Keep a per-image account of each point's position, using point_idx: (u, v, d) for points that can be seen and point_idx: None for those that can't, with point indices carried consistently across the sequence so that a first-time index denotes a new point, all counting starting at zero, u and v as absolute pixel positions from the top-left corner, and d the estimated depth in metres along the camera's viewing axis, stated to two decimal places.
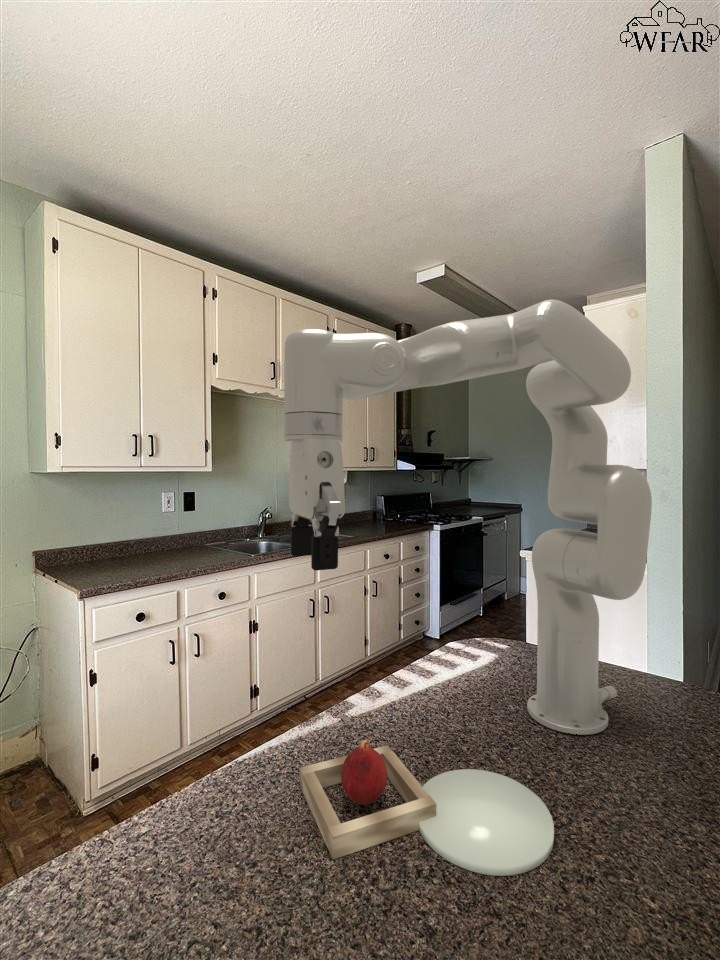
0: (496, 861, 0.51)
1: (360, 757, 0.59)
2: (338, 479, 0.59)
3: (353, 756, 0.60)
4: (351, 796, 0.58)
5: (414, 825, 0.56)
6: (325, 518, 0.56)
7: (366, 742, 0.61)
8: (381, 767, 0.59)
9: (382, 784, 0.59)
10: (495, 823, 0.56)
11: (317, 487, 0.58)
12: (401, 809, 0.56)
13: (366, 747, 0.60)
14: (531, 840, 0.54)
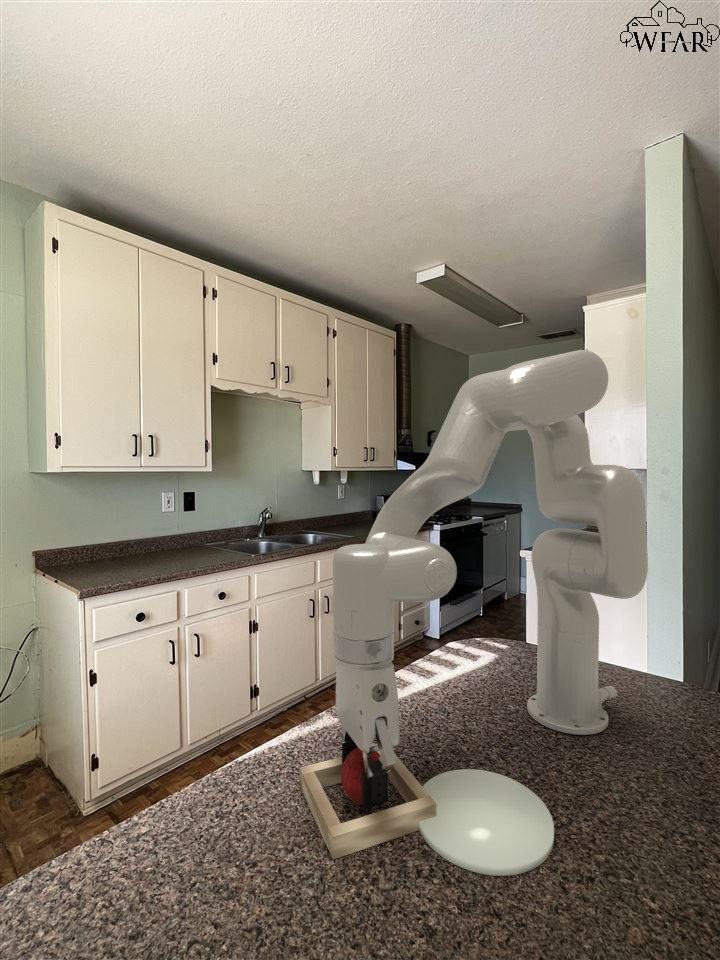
0: (496, 861, 0.51)
1: (360, 757, 0.59)
2: (393, 710, 0.56)
3: (353, 756, 0.60)
4: (351, 796, 0.58)
5: (414, 825, 0.56)
6: (378, 765, 0.55)
7: None
8: None
9: None
10: (495, 823, 0.56)
11: (373, 723, 0.55)
12: (401, 809, 0.56)
13: None
14: (531, 840, 0.54)
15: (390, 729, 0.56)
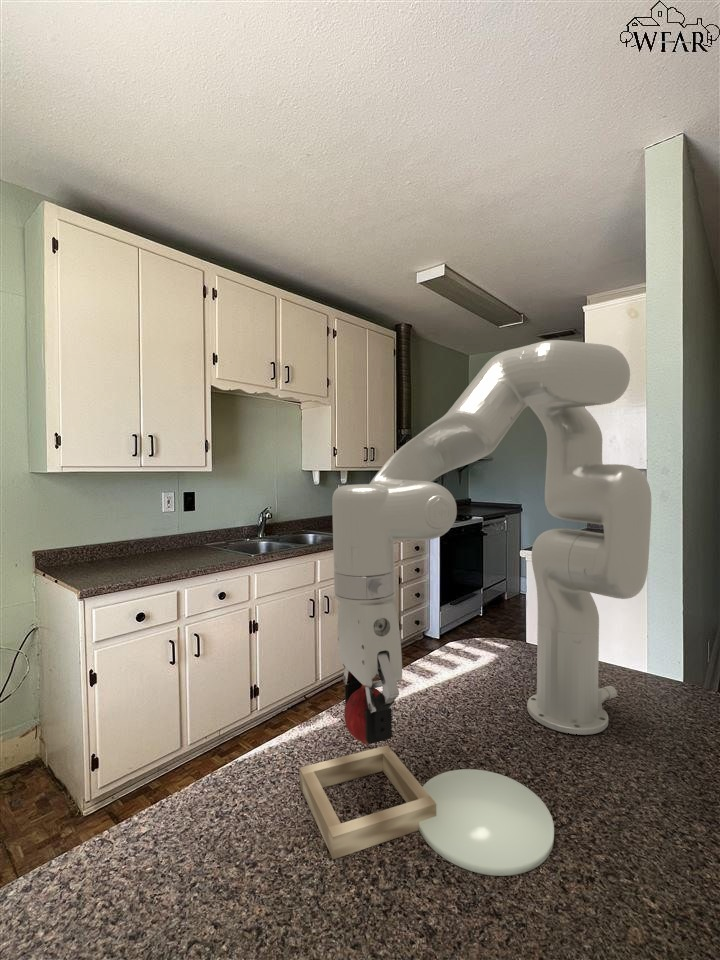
0: (496, 861, 0.51)
1: (363, 695, 0.59)
2: (395, 645, 0.56)
3: (356, 695, 0.60)
4: (355, 733, 0.58)
5: (414, 825, 0.56)
6: (381, 698, 0.55)
7: None
8: None
9: None
10: (495, 823, 0.56)
11: (375, 657, 0.55)
12: (401, 809, 0.56)
13: None
14: (531, 840, 0.54)
15: (392, 664, 0.56)
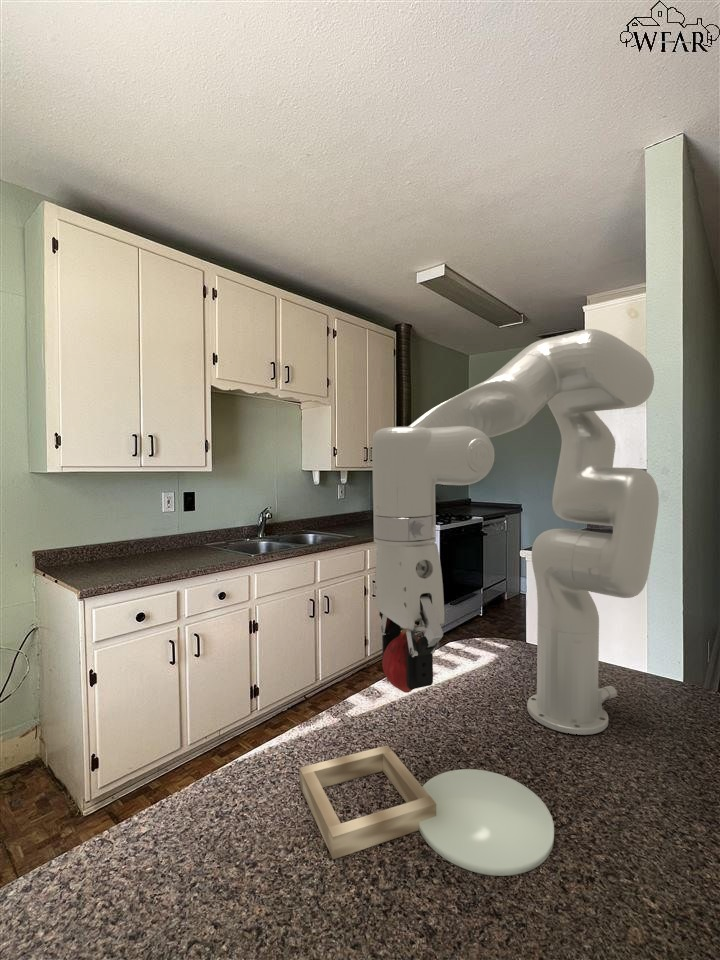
0: (496, 861, 0.51)
1: (402, 642, 0.58)
2: (438, 588, 0.55)
3: (395, 642, 0.59)
4: (395, 680, 0.57)
5: (414, 825, 0.56)
6: (423, 640, 0.54)
7: None
8: None
9: None
10: (495, 823, 0.56)
11: (417, 599, 0.54)
12: (401, 809, 0.56)
13: None
14: (531, 840, 0.54)
15: (435, 607, 0.55)
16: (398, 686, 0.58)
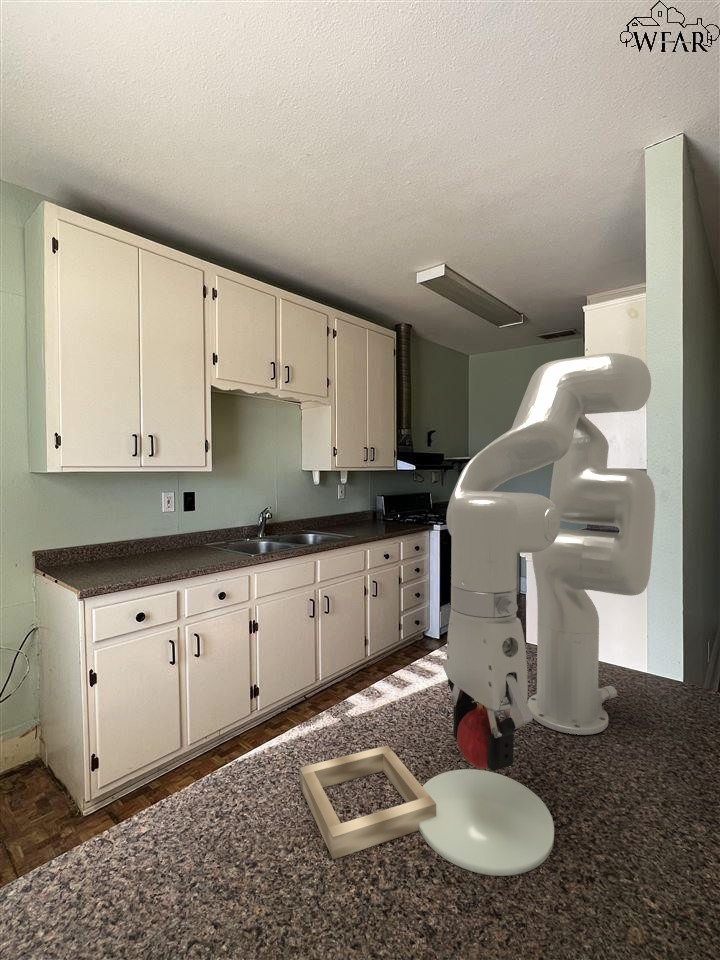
0: (496, 861, 0.51)
1: (480, 718, 0.56)
2: (523, 666, 0.54)
3: (472, 717, 0.57)
4: (473, 759, 0.55)
5: (414, 825, 0.56)
6: (510, 722, 0.52)
7: None
8: None
9: None
10: (495, 823, 0.56)
11: (503, 679, 0.52)
12: (401, 809, 0.56)
13: (485, 708, 0.57)
14: (531, 840, 0.54)
15: (520, 686, 0.53)
16: (476, 765, 0.56)
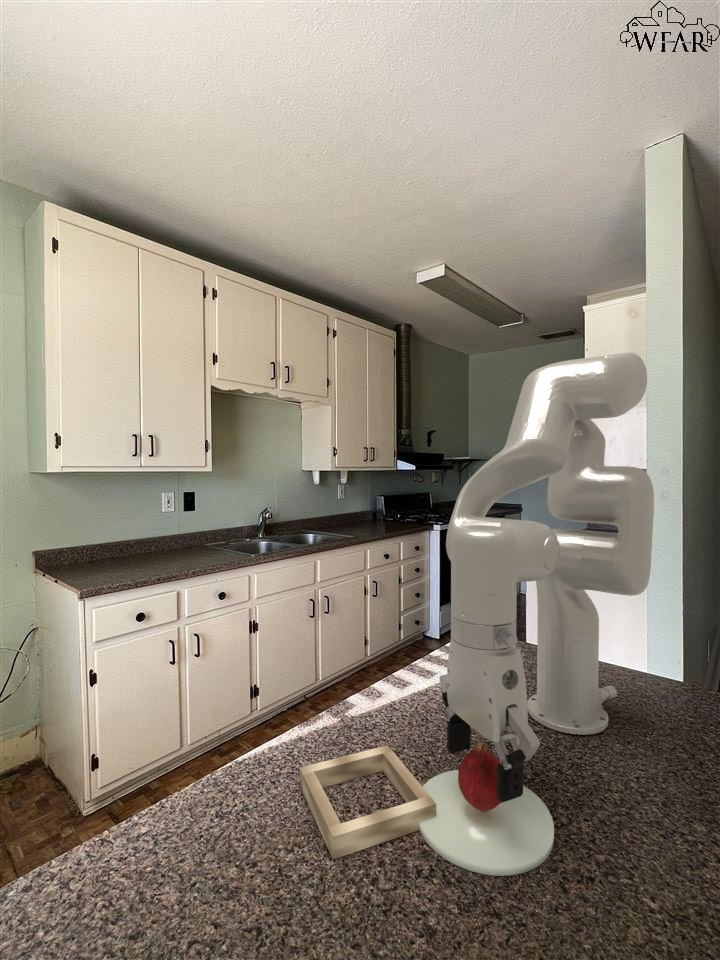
0: (496, 861, 0.51)
1: (480, 760, 0.57)
2: (523, 698, 0.54)
3: (471, 759, 0.57)
4: (474, 802, 0.56)
5: (414, 825, 0.56)
6: (520, 755, 0.51)
7: (483, 745, 0.58)
8: None
9: None
10: (495, 823, 0.56)
11: (504, 712, 0.53)
12: (401, 809, 0.56)
13: (484, 750, 0.58)
14: (531, 840, 0.54)
15: None
16: (477, 807, 0.56)
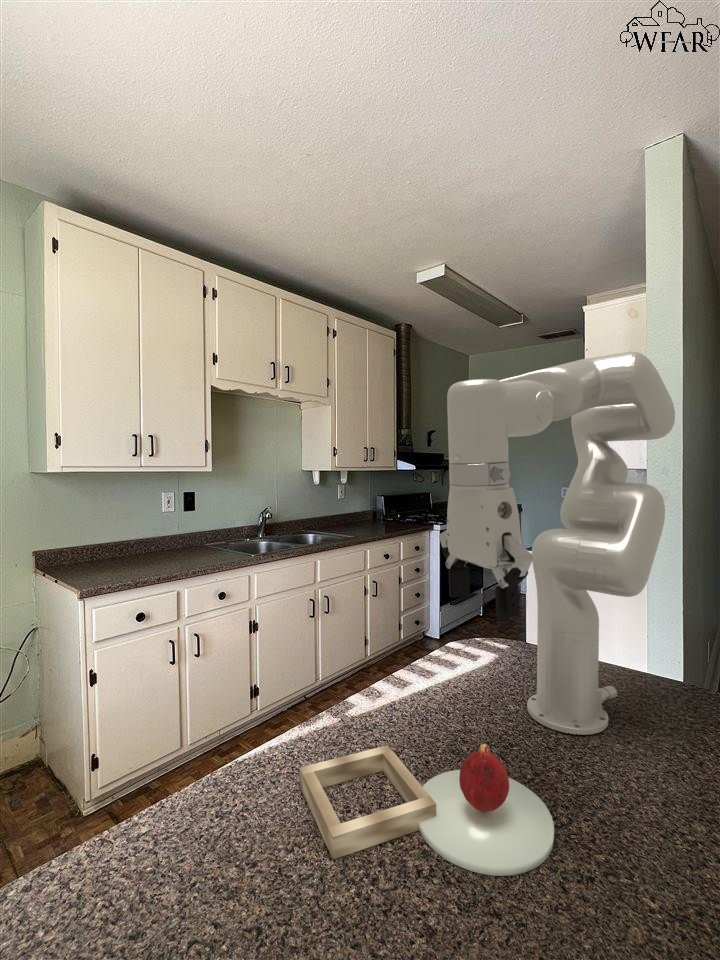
0: (496, 861, 0.51)
1: (483, 762, 0.57)
2: (516, 528, 0.60)
3: (474, 761, 0.57)
4: (475, 803, 0.56)
5: (414, 825, 0.56)
6: (516, 570, 0.57)
7: (487, 746, 0.58)
8: (504, 773, 0.57)
9: (506, 791, 0.56)
10: (495, 823, 0.56)
11: (500, 538, 0.58)
12: (401, 809, 0.56)
13: (487, 751, 0.58)
14: (531, 840, 0.54)
15: None
16: (478, 809, 0.56)
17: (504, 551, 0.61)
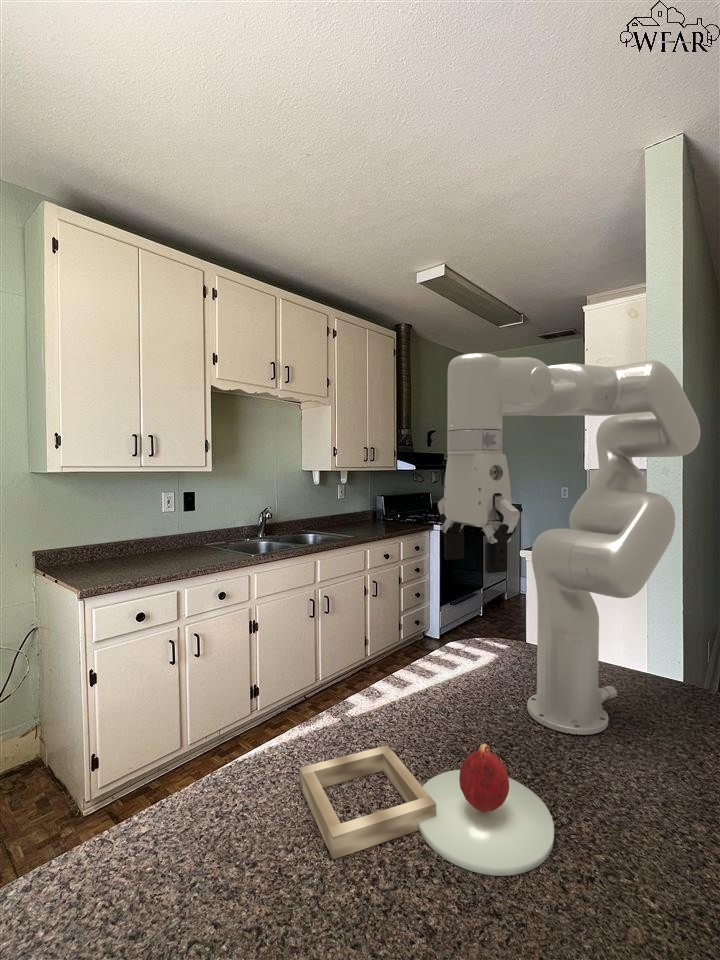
0: (496, 861, 0.51)
1: (482, 762, 0.57)
2: (507, 490, 0.65)
3: (474, 760, 0.57)
4: (475, 803, 0.56)
5: (414, 825, 0.56)
6: (504, 526, 0.61)
7: (487, 746, 0.58)
8: (504, 773, 0.57)
9: (506, 791, 0.56)
10: (495, 823, 0.56)
11: (491, 498, 0.63)
12: (401, 809, 0.56)
13: (487, 751, 0.58)
14: (531, 840, 0.54)
15: None
16: (478, 808, 0.56)
17: (495, 512, 0.66)
